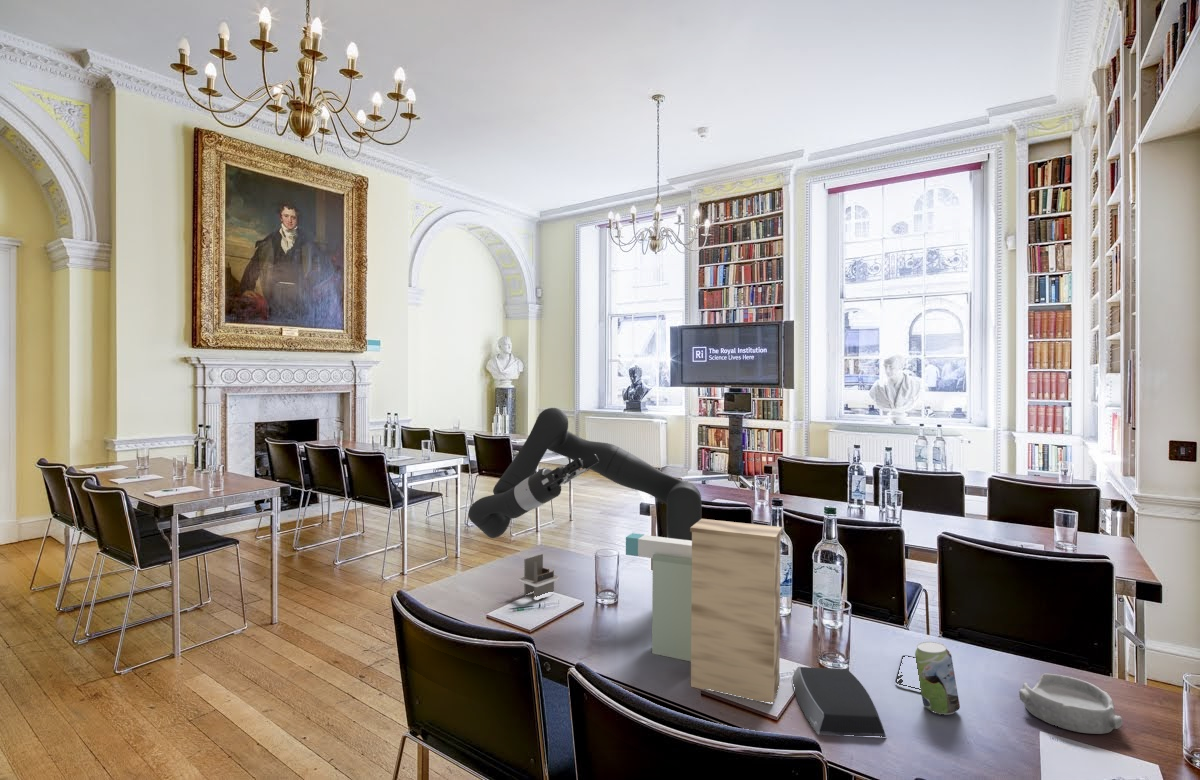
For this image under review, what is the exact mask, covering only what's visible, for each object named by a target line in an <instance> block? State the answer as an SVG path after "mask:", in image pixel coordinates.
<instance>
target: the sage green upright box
mask: <svg viewBox="0 0 1200 780" xmlns="http://www.w3.org/2000/svg"><path fill="white" fill-rule="evenodd" d="M691 604H692V559H689V558H681V557H673V556H666V555H658V554H654V555H653V558H652V604H651V605H652V606H651V607H652V608H651V609H652V615H651V616H652V619H651V622H652V625H651V626H652V629H651V630H652V634H651V639H652V640H651V651H652V652H651V654H652V655H658V656H664V657H668V658H673V659H677V660H681V661H683V660H684V661H687V662H691Z"/></svg>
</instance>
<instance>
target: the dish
mask: <svg viewBox="0 0 1200 780" xmlns="http://www.w3.org/2000/svg"><path fill="white" fill-rule="evenodd" d="M1018 690H1019V691H1018V695H1019V696H1018V697H1019V700H1020V701H1021V702H1022V703H1023V704H1024V706H1025V709H1026V710H1027V711H1028V712H1029V713H1030V714H1031V715H1033V716H1034V717H1036V718H1037V719H1039V720H1040V721H1043V722H1045V723H1048V724H1049V725H1052V726H1054V725H1055V727H1057V726H1058V728H1061V729H1064V730H1066V731H1067V730H1068V731H1071V732H1072V731H1073V732H1076V733H1082V734H1090V735H1091V734H1092V735H1093V734H1094V735H1095V734H1096V735H1104V734H1108V733H1110V732H1112V731H1113V730H1114V729H1115V730H1116V729H1117V730H1118V729H1119V728H1121V727H1122V726H1123V717H1122V716H1120V715H1117V714H1116V710H1115V705H1114V702H1113V699H1112V697H1111V695H1110V694H1109V693H1108V692H1107V691H1105V690H1102V689H1101V688H1100V687H1098V686H1097V685H1095V684H1093V683H1091V682H1088V681H1086V680H1083V679H1079V678H1076V677H1071V676H1067V675H1061V674H1056V673H1055V674H1054V673H1043V674H1042V675H1041V676H1040V677H1039V679H1038V681H1037V683H1036V684H1035V685H1034V686H1033V687H1032V688H1031V687H1030V686H1029V684H1028V682H1027V681H1026V682H1023V684H1022V688H1020V689H1018Z"/></svg>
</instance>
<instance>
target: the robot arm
mask: <svg viewBox="0 0 1200 780" xmlns="http://www.w3.org/2000/svg"><path fill="white" fill-rule="evenodd" d="M568 429H569V418H568V416H567V414H566V413H565V412H564V411H563V410H562V409H560V408H557V407H549V408H545V409H543V410H542V411H541V412H540V413H539V414H538V415H537V417H536V420H535V422H534V424H533V427H532V428H531V430H530V433H529V435H528V437H527V438H526V440H525V442H524V444H523V445H522V447H521V448H520V450H519V451H518V453H517V454H516V455H515V457H514V459H513V460H512V461H511V463H510V464H509V465H508V466H507V468H506V469H505V471H504V472H503V473H502V476H500V477H499V479H498V480H497V482H496V484H495V485H494V487H493V489H492V492H493V494H490V495H488V496H487V495H486V496H484V497H481V498H479V499H477V500H476V501H475V502H473V504H471V505H470V507H469V510H468V519H469V520H470V522H471V523H472V524H474V526H476V528H478V529H479V530H480V531H481V532H482V533H484V534H485V535H486V536H487V537H489V538H490V539H495V538H496V539H497V538H499V537H500V536H502V535H503V534H504V533H505V532H506V530H507V529H508V528H509V526H510V524H511V520H512V519H518V518H519V517H521V516H523V515H524V514H526V513H528V512H530V511H532V510H535V509H537V508H539V507H541V506H543V505H545V504H546V503H549V502H550V501H551V500H553V499H555V498H557V497H559V496H560V495H561V492H562V485H567V484H568V483H570V482H571V481H572V480H573V479H576V478H578V477H579V476H580V475H582V474H583V473H585V472H588V471H589V470H591V471H593V472H596V473H597V474H599V475H601V476H602V477H604V478H606V479H607V480H610V481H612V482H613V483H615V484H617V485H620V486H623V487H626V488H628V489H632V490H636V491H639V492H643V493H645V494H647V495H650V496H652V497H654V498H656V499H657V500H659V501H661V502H662V503H663V504H665V505H666V538H673V539H682V540H690V541H692V532H690V527H692V526H693V525H694V524H695V523H697V522H698V521H699V520H701V519H702V516H703V515H702V514H703V512H702V508H703V507H702V505H703V504H702V494H701V491H700V490H699V489H698V487H696V486H695V485H694V484H692V483H691V482H688V481H686V480H683V479H679V478H678V477H675V476H672V475H670V474H668V473H665V472H663V471H661V470H659V469H657V468H656V467H654V466H653V465H651V464H650V463H648V462H646V461H644V460H643V459H641V458H640V457H638V456H636V455H634V454H633V453H631V452H629V451H627V450H625V449H624V448H621V447H619V446H618V445H615V444H613V443H608V442H600V441H593V440H592V441H591V440H588V439H587V440H586V439H584V438H581V437H580V436H578V435H576V434H574V433H572V432H570V431H569V430H568ZM547 451H550V452H553V453H556V454H558V455H561V456H562V457H565V458H568V459H569V460H572V461H570V462H569V463H567V464H563V465H560V466H558V467H556V468H554V469H553V470H552V469H550V468H548V467H543V468H541V469H540V470H537V468H538V466H539V464H540V462H541V461H542V459H543V457H544V456H545V454H546V453H547ZM581 468H582V469H581Z"/></svg>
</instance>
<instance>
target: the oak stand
mask: <svg viewBox="0 0 1200 780" xmlns="http://www.w3.org/2000/svg"><path fill="white" fill-rule="evenodd" d="M690 532H692V604H691V661H690V687H692V688H695V689H699V690H700V689H701V690H704V689H711V690H714V691H719V692H723V693H728V694H732V695H736V696H741V697H744V698H749V699H753V700H757V701H764V702H770V703H771V702H774V703H775V701H774V699H775V700H776V698H775V696H776V697H777V694H778V691H779V688H778V686H779V687H780V656H781V655H780V654H781V653H780V651H781V649H780V648H781V647H780V645H781V643H780V642H781V641H780V639H781V635H780V634H781V633H780V630H781V629H780V628H781V623H780V621H781V541H782V540H781V539H782V538H781V537H782V535H781V534H782V532H783V526H775V525H764V524H757V523H745V522H736V521H735V522H734V521H726V520H715V519H707V518H701V520H699V521H698V522H697V523H695V524H694V525H693V526H692V527H690ZM777 690H778V691H777ZM776 693H777V694H776ZM744 698H743V699H744ZM753 700H752V701H753ZM757 701H756V702H757Z"/></svg>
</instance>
